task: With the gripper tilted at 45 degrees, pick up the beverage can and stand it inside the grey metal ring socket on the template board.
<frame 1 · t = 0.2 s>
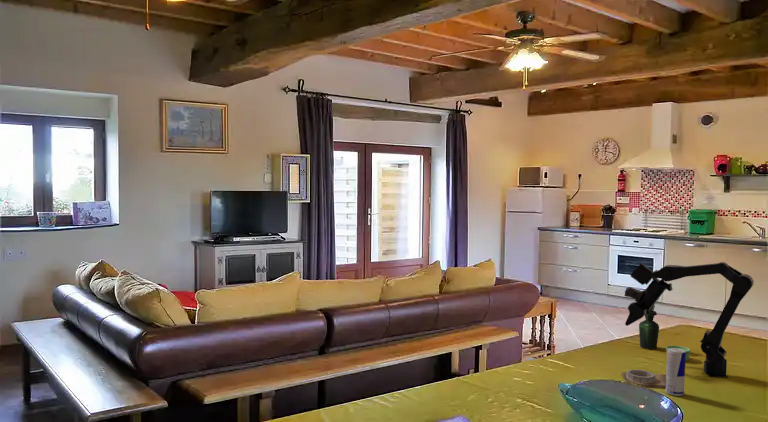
hand: (629, 323, 250), 15 cm above the table, tool tilted 35°, fingers open, 9 cm apart
potion bottle: (648, 348, 270), on the table
ramekin: (677, 359, 254), on the table
template board: (640, 381, 223), on the table
beverage can: (674, 394, 211), on the table
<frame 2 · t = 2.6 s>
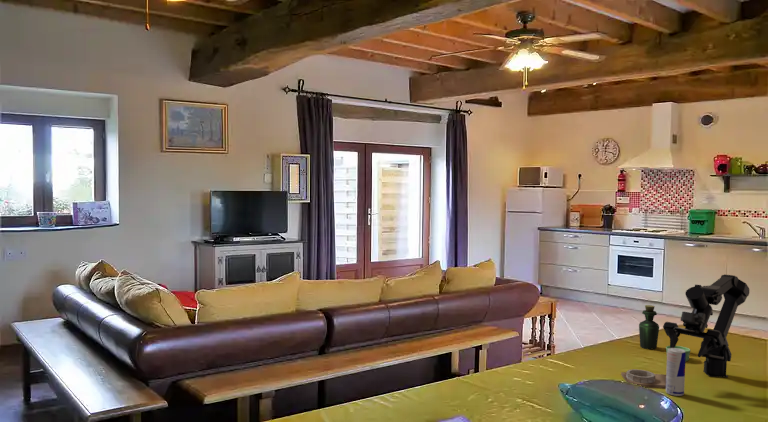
hand: (684, 353, 214), 13 cm above the table, tool tilted 45°, fingers open, 9 cm apart
nothing on the table moved.
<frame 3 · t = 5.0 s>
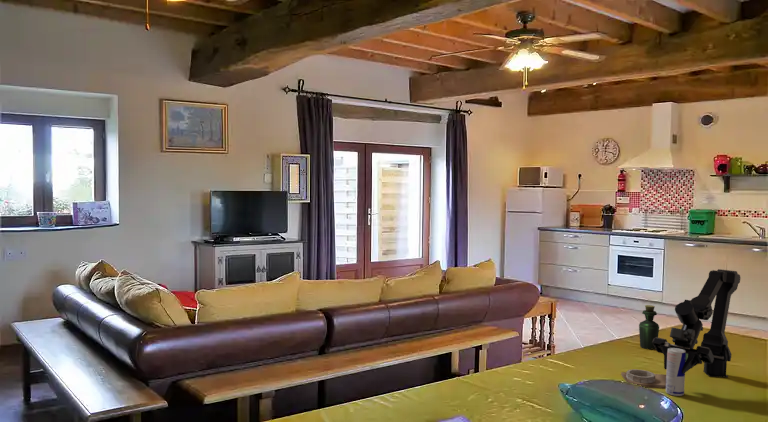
hand: (673, 370, 210), 8 cm above the table, tool tilted 45°, fingers closed on beverage can, 5 cm apart
beverage can: (674, 394, 211), on the table, touching gripper
everything else where it was.
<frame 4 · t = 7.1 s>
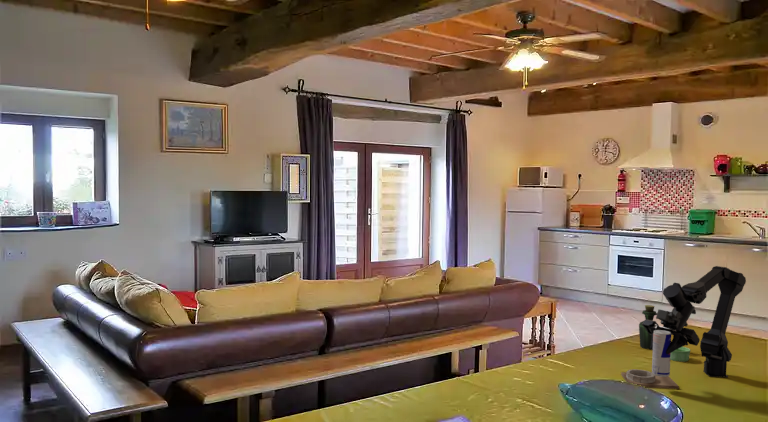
hand: (658, 351, 214), 13 cm above the table, tool tilted 45°, fingers closed on beverage can, 5 cm apart
beverage can: (660, 375, 215), point 5 cm above the table, touching gripper
everything else where it was.
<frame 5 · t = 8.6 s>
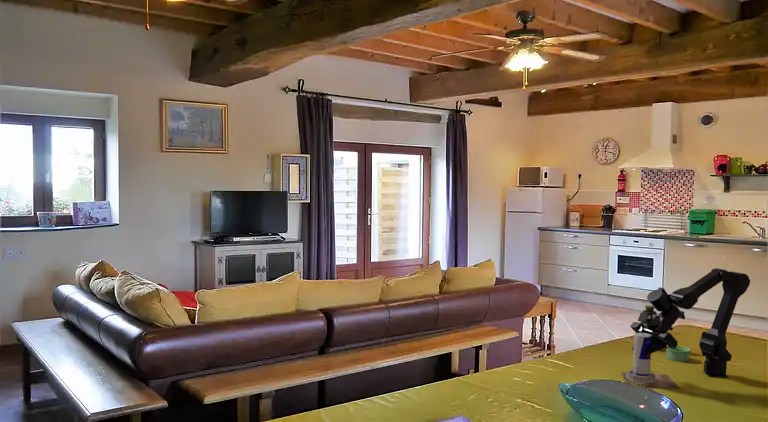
hand: (638, 352, 223), 10 cm above the table, tool tilted 45°, fingers closed on beverage can, 5 cm apart
beverage can: (641, 376, 223), point 2 cm above the table, touching gripper
everything else where it was.
when the fingers open (10 cm above the table, at t = 9.3 s): beverage can stays where it is, resting on template board.
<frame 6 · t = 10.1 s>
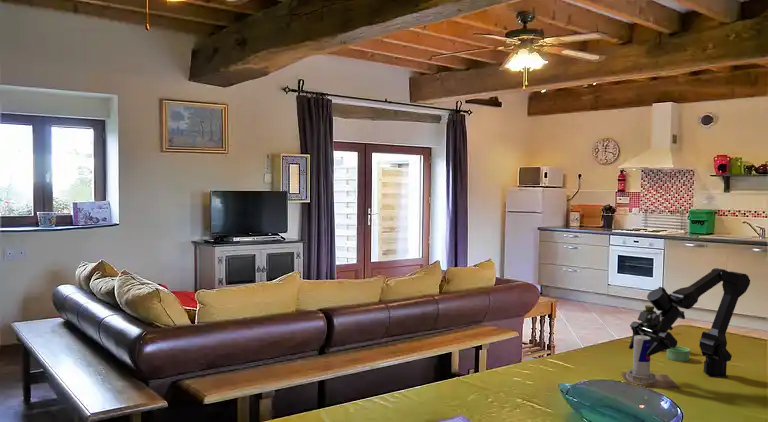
hand: (638, 351, 222), 11 cm above the table, tool tilted 45°, fingers open, 9 cm apart
beverage can: (640, 379, 223), point 1 cm above the table, touching template board
everything else where it was.
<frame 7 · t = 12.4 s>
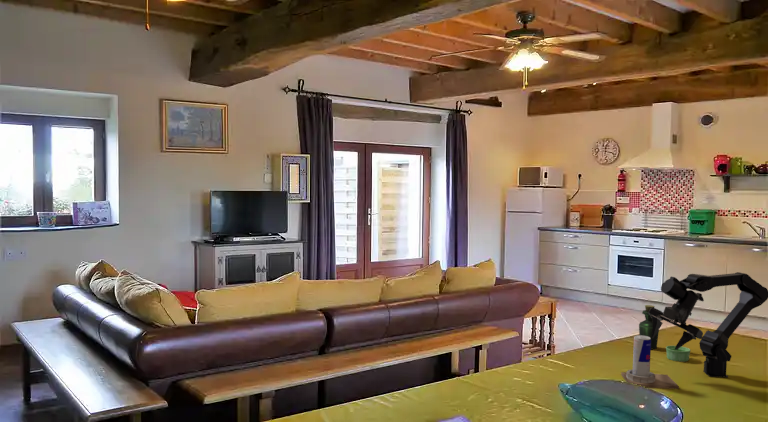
hand: (663, 343, 228), 12 cm above the table, tool tilted 30°, fingers open, 9 cm apart
nothing on the table moved.
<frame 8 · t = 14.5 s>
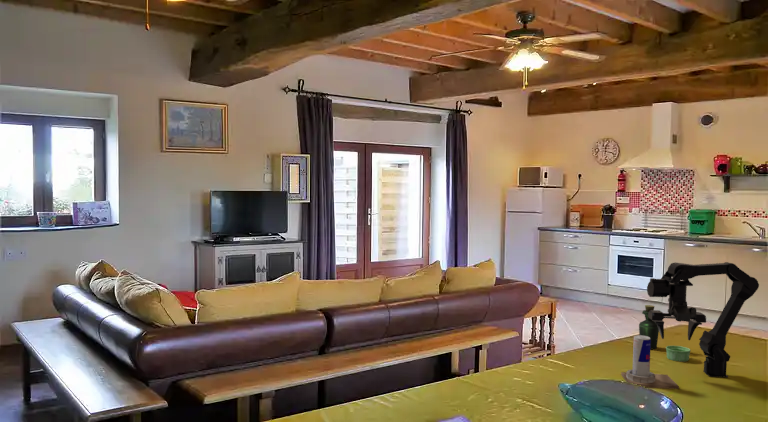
hand: (675, 339, 232), 13 cm above the table, tool pointing down, fingers open, 9 cm apart
nothing on the table moved.
at the end: beverage can 0.1 cm off-centre on the template board, point 0.9 cm above the template board's base; beverage can tilted 1°; the gripper is holding nothing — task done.
